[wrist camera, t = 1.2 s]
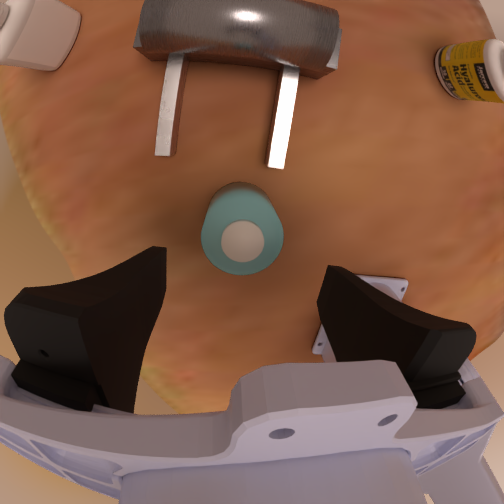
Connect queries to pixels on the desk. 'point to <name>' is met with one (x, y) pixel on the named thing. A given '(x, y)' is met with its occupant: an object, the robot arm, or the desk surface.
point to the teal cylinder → (241, 230)
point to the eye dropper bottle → (37, 33)
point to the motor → (238, 52)
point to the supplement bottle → (473, 70)
